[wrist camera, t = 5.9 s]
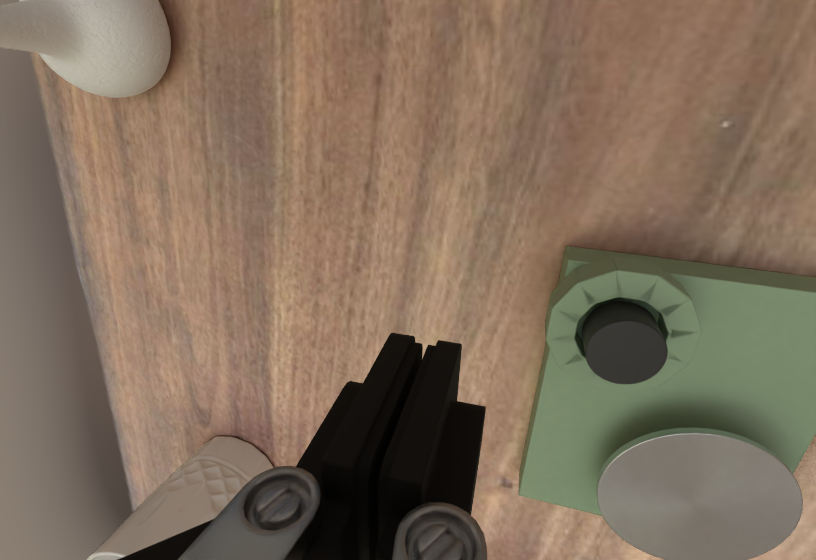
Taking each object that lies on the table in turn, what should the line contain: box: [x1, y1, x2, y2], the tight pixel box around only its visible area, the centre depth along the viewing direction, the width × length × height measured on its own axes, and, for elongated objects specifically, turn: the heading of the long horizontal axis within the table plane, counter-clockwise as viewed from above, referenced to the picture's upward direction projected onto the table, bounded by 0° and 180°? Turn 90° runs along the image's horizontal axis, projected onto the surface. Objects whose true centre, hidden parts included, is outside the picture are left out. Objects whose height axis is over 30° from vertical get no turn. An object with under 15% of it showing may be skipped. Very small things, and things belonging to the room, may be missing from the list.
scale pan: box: [596, 427, 803, 560], centre depth 21 cm, size 8×8×1 cm
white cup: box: [87, 436, 274, 560], centre depth 31 cm, size 8×8×10 cm
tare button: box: [582, 301, 668, 384], centre depth 19 cm, size 3×3×2 cm
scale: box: [519, 246, 816, 516], centre depth 22 cm, size 15×12×4 cm
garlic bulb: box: [0, 0, 171, 98], centre depth 19 cm, size 6×6×8 cm
